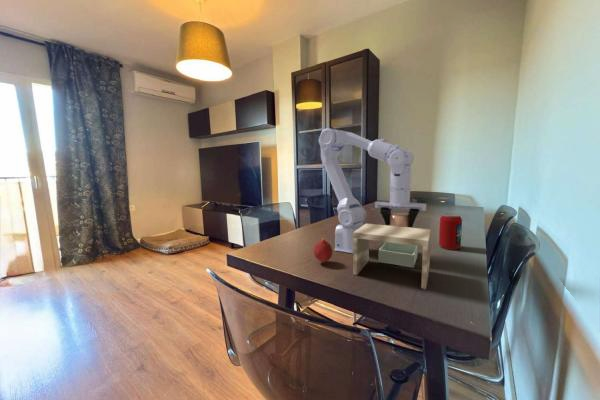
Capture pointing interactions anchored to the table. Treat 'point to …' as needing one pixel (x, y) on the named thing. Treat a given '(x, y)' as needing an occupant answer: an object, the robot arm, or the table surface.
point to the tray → (398, 254)
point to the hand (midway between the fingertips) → (398, 232)
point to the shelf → (395, 236)
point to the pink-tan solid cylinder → (399, 219)
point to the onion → (323, 251)
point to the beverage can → (450, 231)
